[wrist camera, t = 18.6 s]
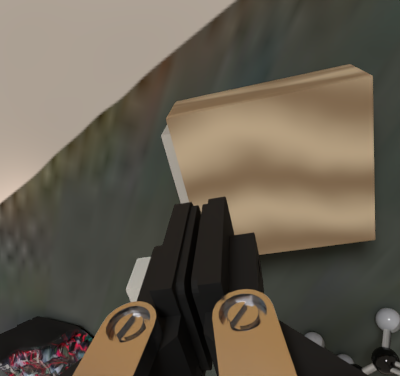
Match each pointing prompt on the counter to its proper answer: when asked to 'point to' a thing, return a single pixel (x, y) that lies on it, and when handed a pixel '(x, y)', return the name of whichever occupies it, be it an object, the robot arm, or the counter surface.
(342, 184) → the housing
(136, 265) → the block
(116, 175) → the counter surface
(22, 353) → the fabric swatch
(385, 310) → the molecular model
